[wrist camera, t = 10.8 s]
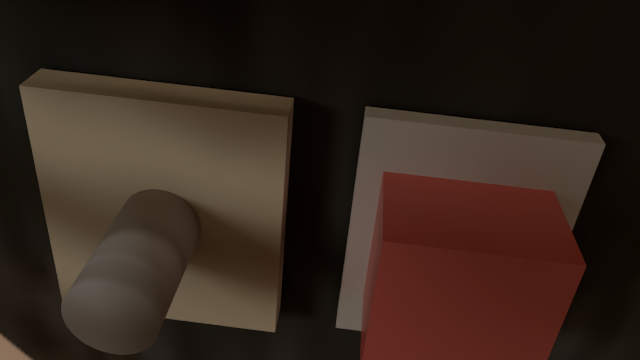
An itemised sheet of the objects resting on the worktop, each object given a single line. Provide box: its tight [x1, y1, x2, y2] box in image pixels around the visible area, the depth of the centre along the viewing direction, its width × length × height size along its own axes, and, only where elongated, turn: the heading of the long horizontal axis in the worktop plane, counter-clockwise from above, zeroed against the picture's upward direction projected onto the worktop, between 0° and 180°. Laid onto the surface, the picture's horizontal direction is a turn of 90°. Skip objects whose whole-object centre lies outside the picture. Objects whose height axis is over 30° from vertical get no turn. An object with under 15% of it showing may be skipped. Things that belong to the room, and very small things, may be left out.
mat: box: [336, 106, 606, 331], centre depth 23 cm, size 10×8×1 cm
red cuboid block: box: [360, 171, 586, 360], centre depth 21 cm, size 6×6×4 cm
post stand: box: [19, 69, 294, 355], centre depth 21 cm, size 10×9×6 cm
